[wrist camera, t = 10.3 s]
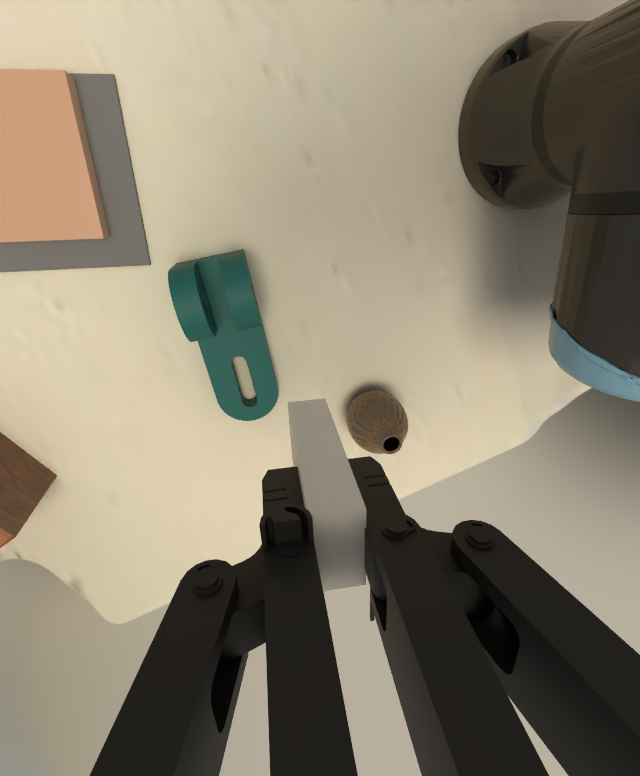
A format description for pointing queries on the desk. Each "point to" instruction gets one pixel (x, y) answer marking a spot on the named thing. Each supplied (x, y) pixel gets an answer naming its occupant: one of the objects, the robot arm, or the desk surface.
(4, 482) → the tissue box cover
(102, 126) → the mat
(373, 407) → the vase
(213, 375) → the bracket
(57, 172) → the tile
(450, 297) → the desk surface
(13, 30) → the desk surface
